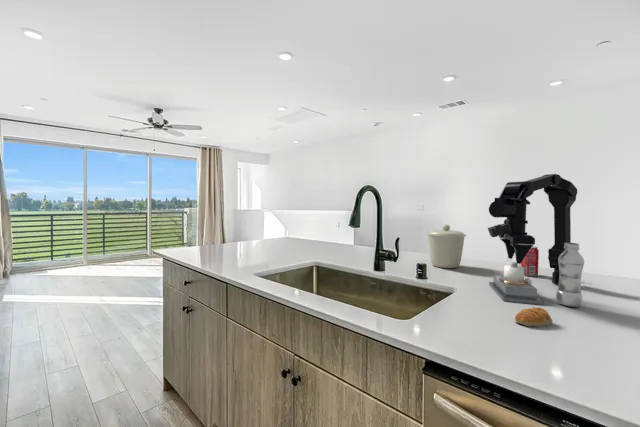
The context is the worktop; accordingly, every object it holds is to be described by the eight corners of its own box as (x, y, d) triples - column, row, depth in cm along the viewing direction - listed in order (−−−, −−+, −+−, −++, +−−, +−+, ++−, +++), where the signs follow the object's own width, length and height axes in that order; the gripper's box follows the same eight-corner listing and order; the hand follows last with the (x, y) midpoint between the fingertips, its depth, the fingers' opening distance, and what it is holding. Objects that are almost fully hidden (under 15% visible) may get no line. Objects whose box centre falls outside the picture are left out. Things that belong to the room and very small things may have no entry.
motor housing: (521, 287, 114) (521, 272, 114) (542, 304, 95) (543, 287, 95) (488, 284, 117) (489, 270, 117) (503, 301, 98) (504, 284, 98)
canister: (472, 270, 140) (473, 226, 139) (433, 270, 140) (434, 226, 139) (455, 262, 158) (456, 223, 157) (421, 262, 158) (422, 222, 157)
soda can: (541, 277, 129) (543, 247, 129) (525, 277, 130) (526, 247, 129) (530, 273, 137) (531, 245, 136) (514, 272, 137) (516, 245, 136)
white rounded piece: (520, 279, 108) (521, 261, 108) (526, 283, 102) (527, 265, 102) (501, 277, 110) (502, 260, 109) (506, 282, 104) (507, 263, 104)
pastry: (533, 331, 76) (533, 316, 76) (507, 321, 83) (507, 307, 82) (554, 325, 80) (554, 311, 80) (528, 316, 86) (528, 303, 86)
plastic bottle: (575, 303, 97) (578, 242, 96) (586, 310, 90) (590, 245, 89) (552, 300, 99) (554, 241, 98) (560, 307, 93) (564, 244, 92)
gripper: (484, 215, 116) (483, 254, 117) (497, 218, 98) (495, 264, 99) (517, 216, 113) (515, 256, 114) (536, 219, 95) (534, 267, 96)
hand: (514, 260), depth 106 cm, fingers open, 9 cm apart
